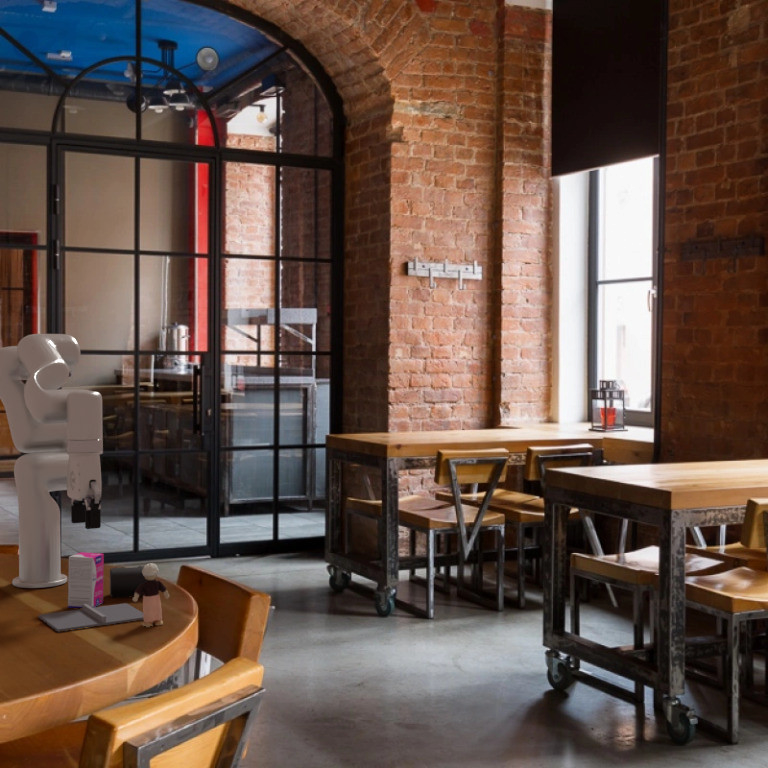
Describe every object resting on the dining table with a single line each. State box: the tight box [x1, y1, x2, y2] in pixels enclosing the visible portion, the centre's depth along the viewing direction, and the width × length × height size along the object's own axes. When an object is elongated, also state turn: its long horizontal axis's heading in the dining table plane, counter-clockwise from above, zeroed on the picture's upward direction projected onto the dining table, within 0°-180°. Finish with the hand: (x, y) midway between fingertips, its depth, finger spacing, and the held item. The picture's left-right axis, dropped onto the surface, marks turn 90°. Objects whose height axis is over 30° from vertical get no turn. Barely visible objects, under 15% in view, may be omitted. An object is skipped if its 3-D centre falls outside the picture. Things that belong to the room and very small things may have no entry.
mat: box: [38, 602, 144, 633], centre depth 222 cm, size 14×19×2 cm
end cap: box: [109, 565, 157, 598], centre depth 243 cm, size 10×7×7 cm
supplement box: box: [67, 551, 105, 609], centre depth 233 cm, size 6×6×12 cm
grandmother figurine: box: [131, 563, 170, 628], centre depth 217 cm, size 8×4×13 cm, turn 135°
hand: (85, 525), depth 232 cm, fingers open, 9 cm apart
